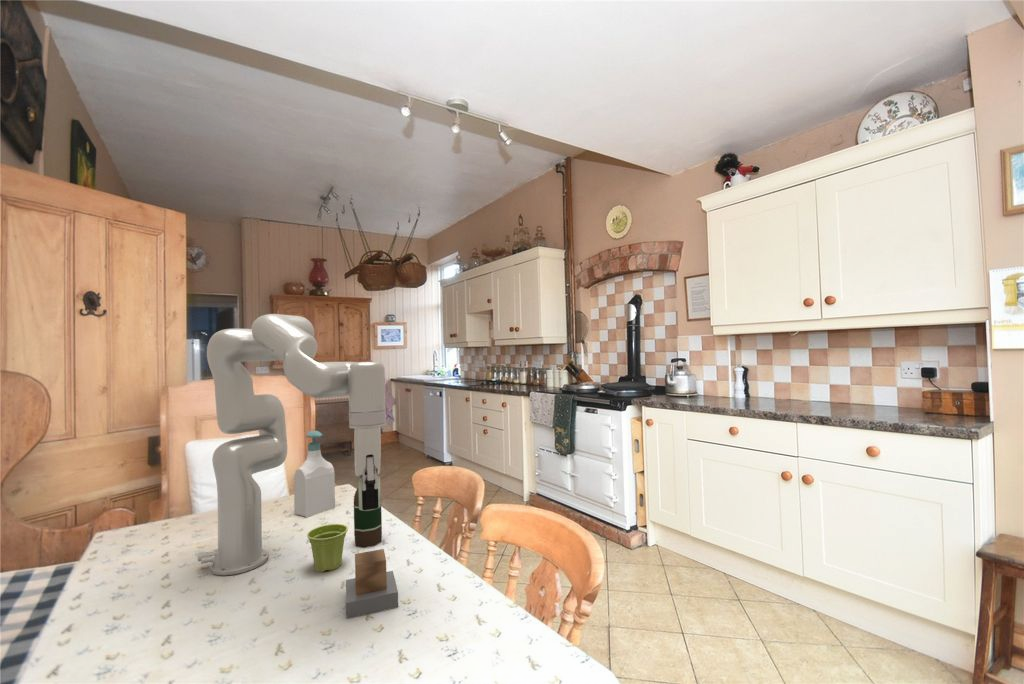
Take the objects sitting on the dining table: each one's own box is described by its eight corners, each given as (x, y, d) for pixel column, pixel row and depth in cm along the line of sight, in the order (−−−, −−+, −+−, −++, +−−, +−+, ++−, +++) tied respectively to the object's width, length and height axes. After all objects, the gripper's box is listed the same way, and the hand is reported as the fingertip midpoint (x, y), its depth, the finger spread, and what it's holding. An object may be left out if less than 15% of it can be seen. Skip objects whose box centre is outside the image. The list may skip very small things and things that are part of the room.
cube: (356, 595, 90) (355, 565, 90) (355, 582, 95) (354, 553, 95) (386, 589, 92) (386, 560, 92) (384, 576, 97) (383, 548, 98)
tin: (359, 512, 91) (358, 482, 91) (358, 505, 95) (357, 477, 96) (381, 508, 93) (380, 479, 93) (379, 502, 97) (379, 475, 97)
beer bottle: (377, 547, 120) (375, 458, 120) (349, 548, 120) (347, 459, 121) (386, 536, 127) (384, 452, 128) (359, 537, 128) (357, 453, 128)
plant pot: (356, 561, 112) (356, 526, 112) (326, 578, 103) (326, 541, 104) (329, 555, 116) (329, 521, 116) (298, 571, 107) (298, 535, 108)
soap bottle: (309, 518, 144) (307, 434, 145) (294, 514, 148) (293, 432, 149) (338, 508, 153) (336, 429, 154) (323, 504, 158) (322, 427, 159)
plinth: (346, 618, 87) (346, 603, 87) (346, 593, 96) (345, 579, 96) (398, 606, 90) (398, 591, 91) (393, 584, 100) (392, 570, 100)
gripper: (348, 416, 101) (350, 496, 101) (349, 425, 86) (351, 521, 85) (382, 413, 104) (384, 492, 103) (389, 422, 88) (391, 515, 88)
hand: (369, 504), depth 94 cm, fingers closed on tin, 4 cm apart
